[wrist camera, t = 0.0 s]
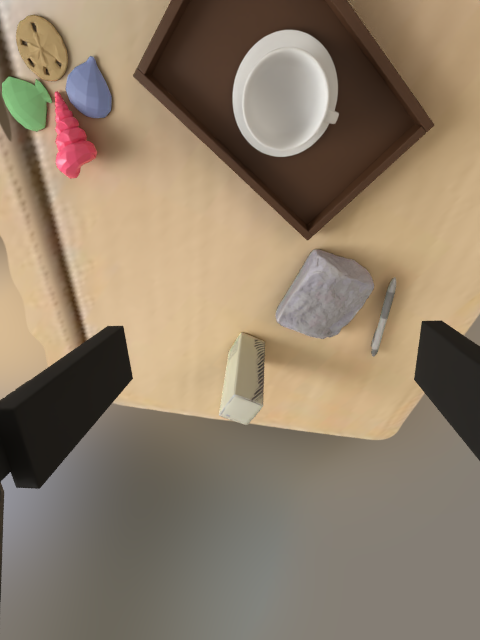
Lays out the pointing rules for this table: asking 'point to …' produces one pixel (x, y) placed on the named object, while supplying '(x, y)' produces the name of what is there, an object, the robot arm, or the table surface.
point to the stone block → (324, 295)
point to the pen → (383, 316)
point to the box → (243, 380)
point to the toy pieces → (56, 93)
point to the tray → (338, 139)
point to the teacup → (285, 93)
